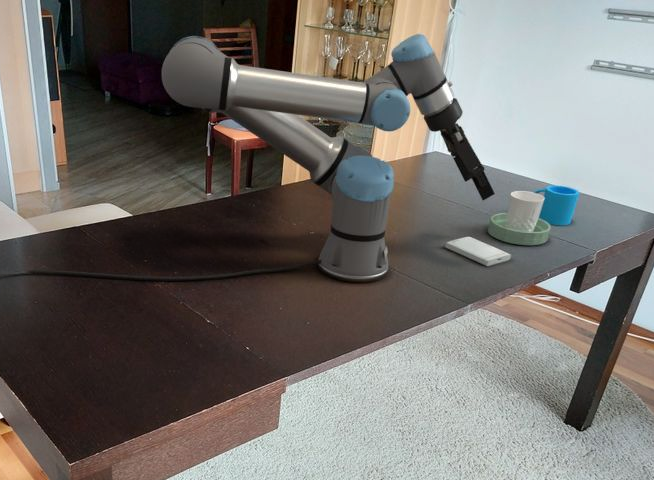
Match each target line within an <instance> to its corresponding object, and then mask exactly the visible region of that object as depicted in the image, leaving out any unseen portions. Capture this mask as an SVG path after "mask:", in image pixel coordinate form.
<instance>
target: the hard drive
mask: <svg viewBox="0 0 654 480" xmlns="http://www.w3.org/2000/svg"><path fill="white" fill-rule="evenodd" d="M445 248H446V249H448V250H450V251H452V252H455V253H457V254H459V255H461V256H463V257H466V258H468V259H469V260H472V261H475V262H477V263H479V264H481V265H483V266H485V267H490V266H494V265H498V264H501V263H504V262H508V261H510V260H511V258H512V254H510V253H508V252H506V251H504V250H501V249H500V248H497V247H494V246H492V245H491V244H487V243H485V242H482V241H481V240H478V239H476V238H474V237H471V236H465V237H461V238H457V239H453V240H449V241H447V242H446V243H445Z"/></svg>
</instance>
